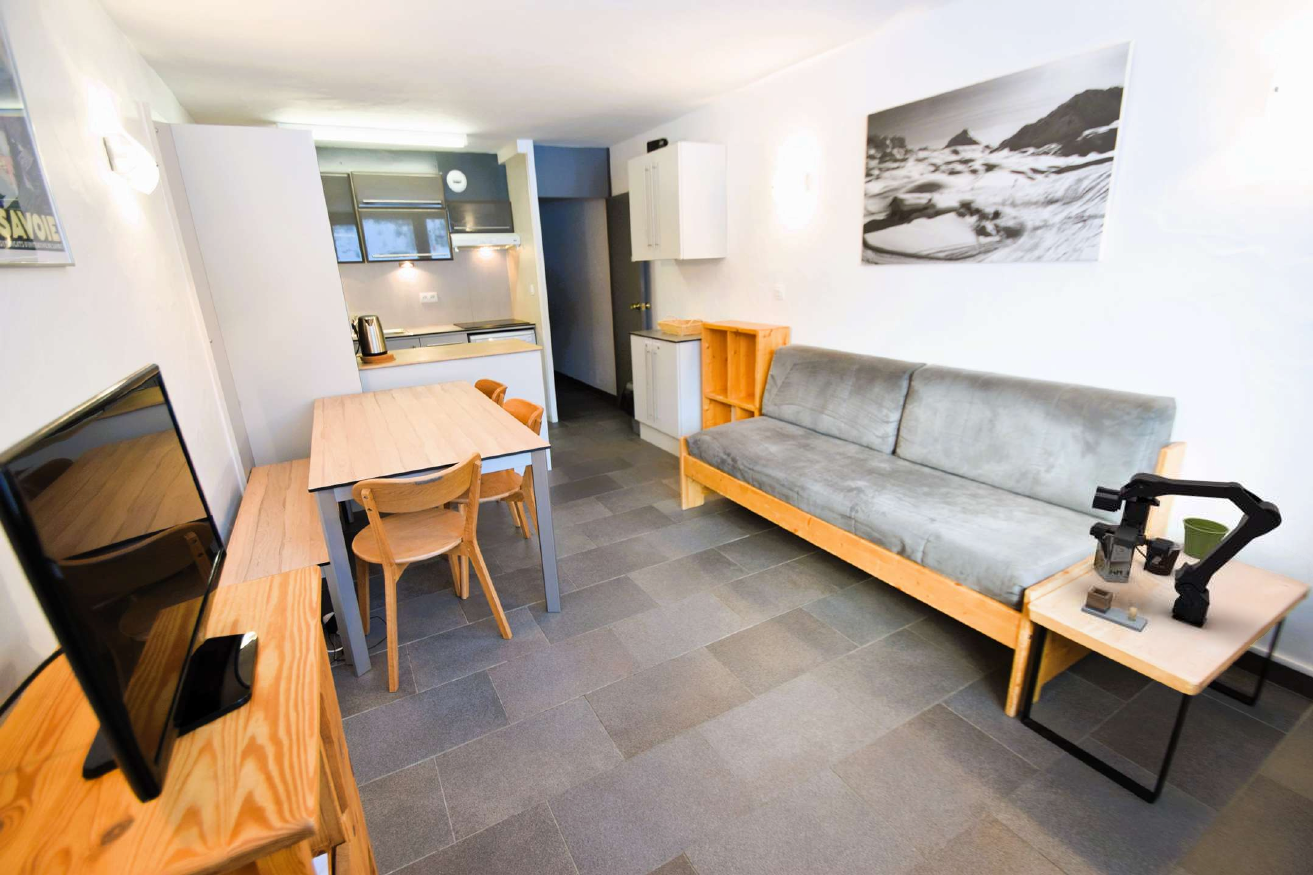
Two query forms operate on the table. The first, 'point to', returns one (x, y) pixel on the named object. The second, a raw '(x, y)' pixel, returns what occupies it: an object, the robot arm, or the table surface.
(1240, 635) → the table surface
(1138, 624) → the pin board
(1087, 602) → the sleeve
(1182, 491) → the robot arm
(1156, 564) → the coffee mug
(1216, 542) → the plant pot
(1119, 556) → the coffee box
